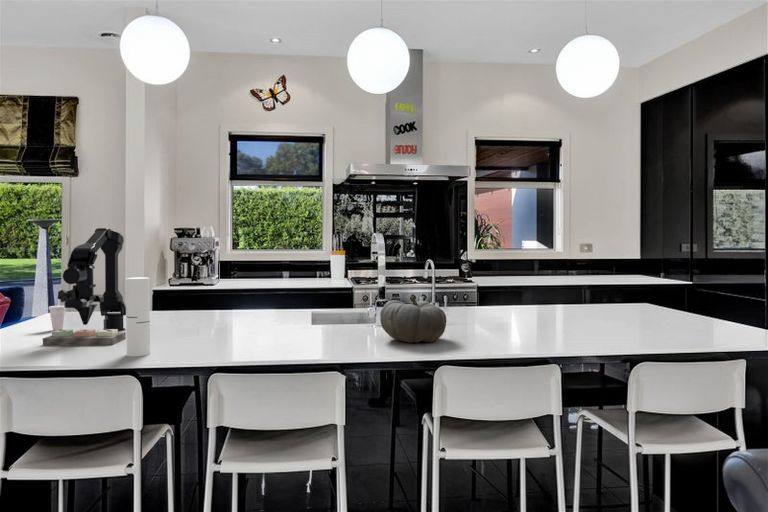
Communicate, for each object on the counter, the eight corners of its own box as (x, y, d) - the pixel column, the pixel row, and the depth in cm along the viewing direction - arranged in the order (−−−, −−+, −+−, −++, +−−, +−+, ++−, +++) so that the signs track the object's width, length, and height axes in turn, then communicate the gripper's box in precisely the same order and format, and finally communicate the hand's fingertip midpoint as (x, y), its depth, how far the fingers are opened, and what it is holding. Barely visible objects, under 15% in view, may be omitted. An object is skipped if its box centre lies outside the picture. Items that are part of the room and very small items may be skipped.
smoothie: (58, 331, 233) (58, 296, 233) (45, 330, 235) (44, 296, 234) (70, 328, 240) (69, 295, 239) (57, 328, 241) (56, 294, 240)
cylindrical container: (131, 352, 192) (130, 277, 192) (153, 351, 193) (152, 277, 192) (123, 356, 185) (122, 279, 184) (146, 356, 186) (145, 278, 185)
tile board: (42, 345, 204) (42, 338, 203) (59, 339, 216) (59, 332, 215) (112, 344, 205) (112, 337, 205) (125, 338, 217) (125, 332, 217)
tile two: (52, 340, 207) (51, 331, 207) (59, 338, 212) (58, 329, 212) (66, 340, 207) (66, 331, 207) (73, 338, 212) (72, 329, 212)
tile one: (75, 340, 208) (75, 331, 208) (81, 338, 213) (81, 329, 213) (89, 340, 208) (89, 331, 208) (95, 338, 213) (95, 328, 213)
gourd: (363, 333, 215) (372, 287, 215) (406, 335, 233) (414, 293, 234) (413, 349, 198) (423, 299, 198) (455, 351, 216) (464, 305, 216)
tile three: (98, 340, 208) (97, 331, 208) (103, 337, 213) (103, 328, 213) (112, 340, 208) (112, 330, 208) (117, 337, 213) (117, 328, 213)
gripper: (73, 279, 218) (74, 321, 219) (48, 284, 200) (49, 329, 200) (104, 279, 219) (104, 320, 220) (81, 284, 200) (82, 328, 201)
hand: (85, 324), depth 210 cm, fingers closed
